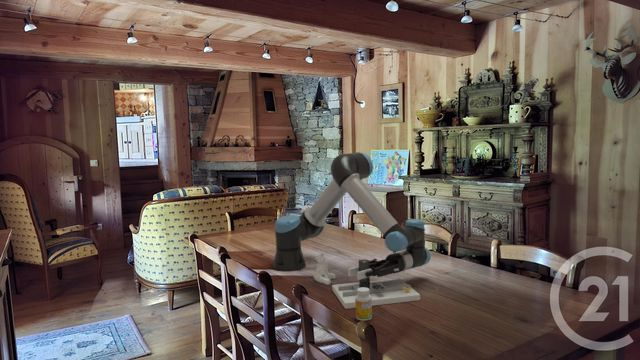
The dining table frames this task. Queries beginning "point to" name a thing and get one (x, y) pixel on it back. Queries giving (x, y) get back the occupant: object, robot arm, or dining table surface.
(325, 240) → the dining table surface
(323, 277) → the white creature statuette
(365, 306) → the supplement bottle
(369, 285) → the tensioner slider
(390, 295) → the rail board
